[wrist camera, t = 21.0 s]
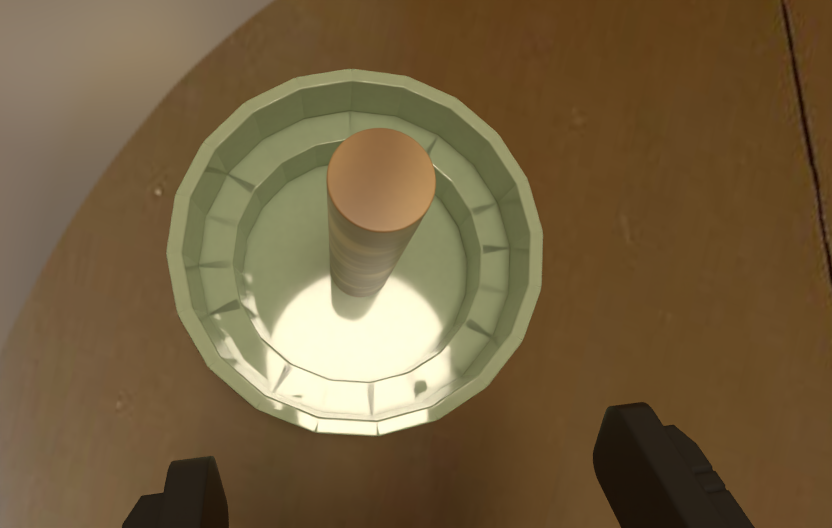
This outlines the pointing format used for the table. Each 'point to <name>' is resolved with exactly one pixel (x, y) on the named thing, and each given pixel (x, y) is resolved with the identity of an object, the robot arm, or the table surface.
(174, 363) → the table surface
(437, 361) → the bowl
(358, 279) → the stick
